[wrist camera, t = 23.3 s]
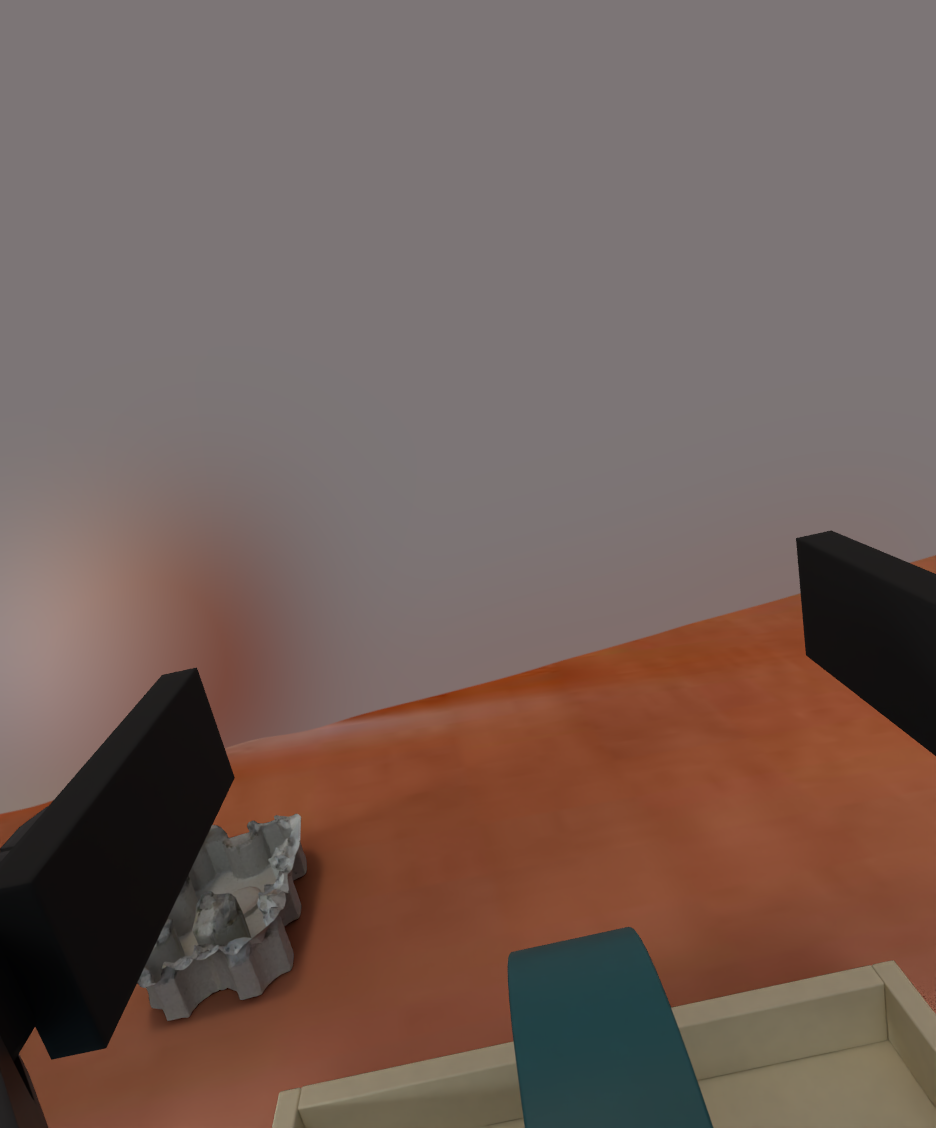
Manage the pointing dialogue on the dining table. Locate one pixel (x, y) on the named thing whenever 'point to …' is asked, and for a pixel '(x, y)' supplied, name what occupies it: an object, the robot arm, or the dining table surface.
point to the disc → (599, 1038)
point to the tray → (697, 1065)
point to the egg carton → (229, 918)
